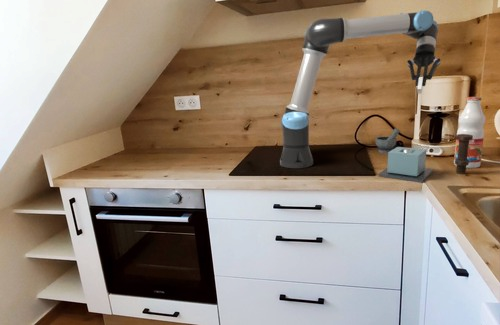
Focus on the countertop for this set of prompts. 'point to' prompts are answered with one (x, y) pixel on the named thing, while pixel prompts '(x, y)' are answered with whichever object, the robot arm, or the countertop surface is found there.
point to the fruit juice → (472, 131)
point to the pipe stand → (419, 178)
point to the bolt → (462, 153)
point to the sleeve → (406, 161)
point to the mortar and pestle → (387, 142)
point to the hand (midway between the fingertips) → (419, 91)
